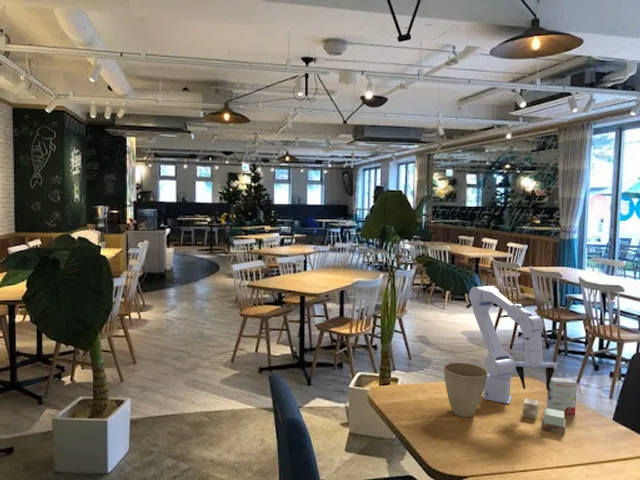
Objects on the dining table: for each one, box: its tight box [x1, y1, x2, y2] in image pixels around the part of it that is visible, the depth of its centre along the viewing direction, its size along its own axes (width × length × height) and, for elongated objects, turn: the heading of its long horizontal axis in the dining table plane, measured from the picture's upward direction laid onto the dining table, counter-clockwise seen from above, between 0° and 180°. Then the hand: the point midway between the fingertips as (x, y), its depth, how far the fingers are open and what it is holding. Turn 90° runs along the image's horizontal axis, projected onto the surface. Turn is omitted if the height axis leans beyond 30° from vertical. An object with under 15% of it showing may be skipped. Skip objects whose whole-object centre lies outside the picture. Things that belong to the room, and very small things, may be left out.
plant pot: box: [443, 362, 489, 418], centre depth 180 cm, size 15×15×16 cm
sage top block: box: [543, 407, 565, 427], centre depth 170 cm, size 6×6×3 cm
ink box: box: [546, 377, 578, 415], centre depth 185 cm, size 9×5×12 cm, turn 84°
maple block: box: [522, 398, 539, 420], centre depth 181 cm, size 4×4×5 cm
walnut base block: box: [540, 414, 567, 436], centre depth 171 cm, size 7×7×3 cm
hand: (535, 388), depth 180 cm, fingers open, 7 cm apart
